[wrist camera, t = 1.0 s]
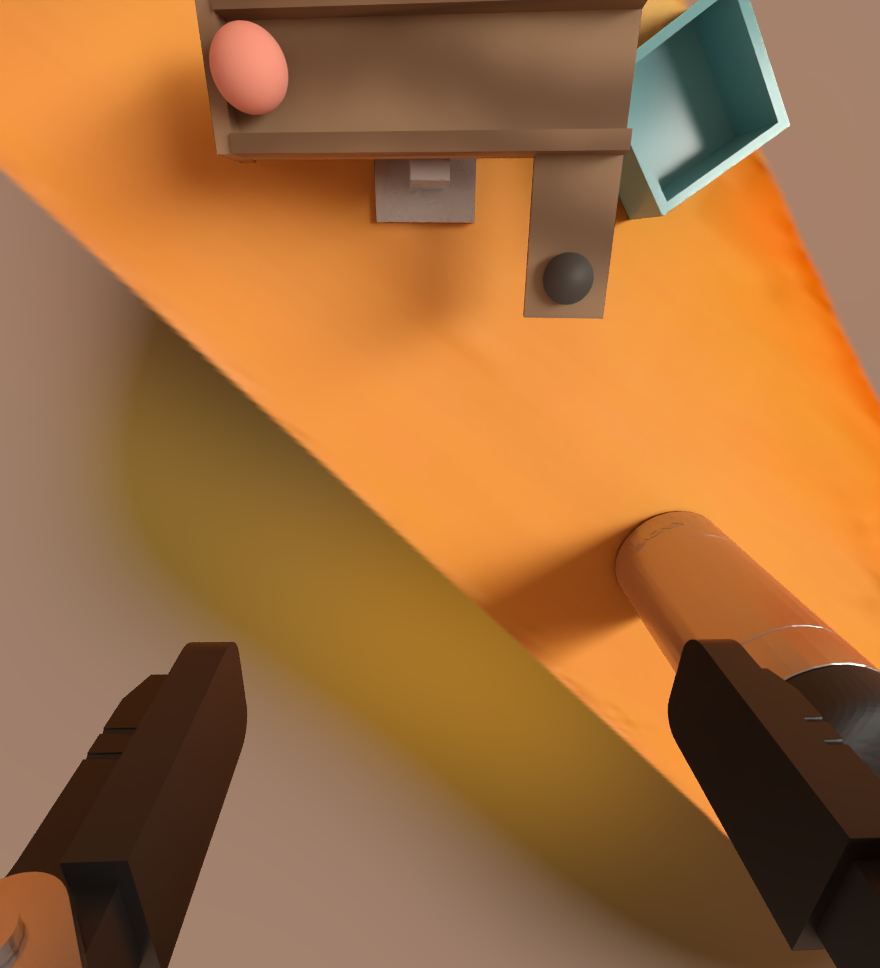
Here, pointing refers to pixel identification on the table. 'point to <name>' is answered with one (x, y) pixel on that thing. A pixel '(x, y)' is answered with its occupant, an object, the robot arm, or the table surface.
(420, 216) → the fulcrum
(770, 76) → the teal square bin
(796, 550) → the table surface
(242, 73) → the ball
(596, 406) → the table surface
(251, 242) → the table surface
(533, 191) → the lever
